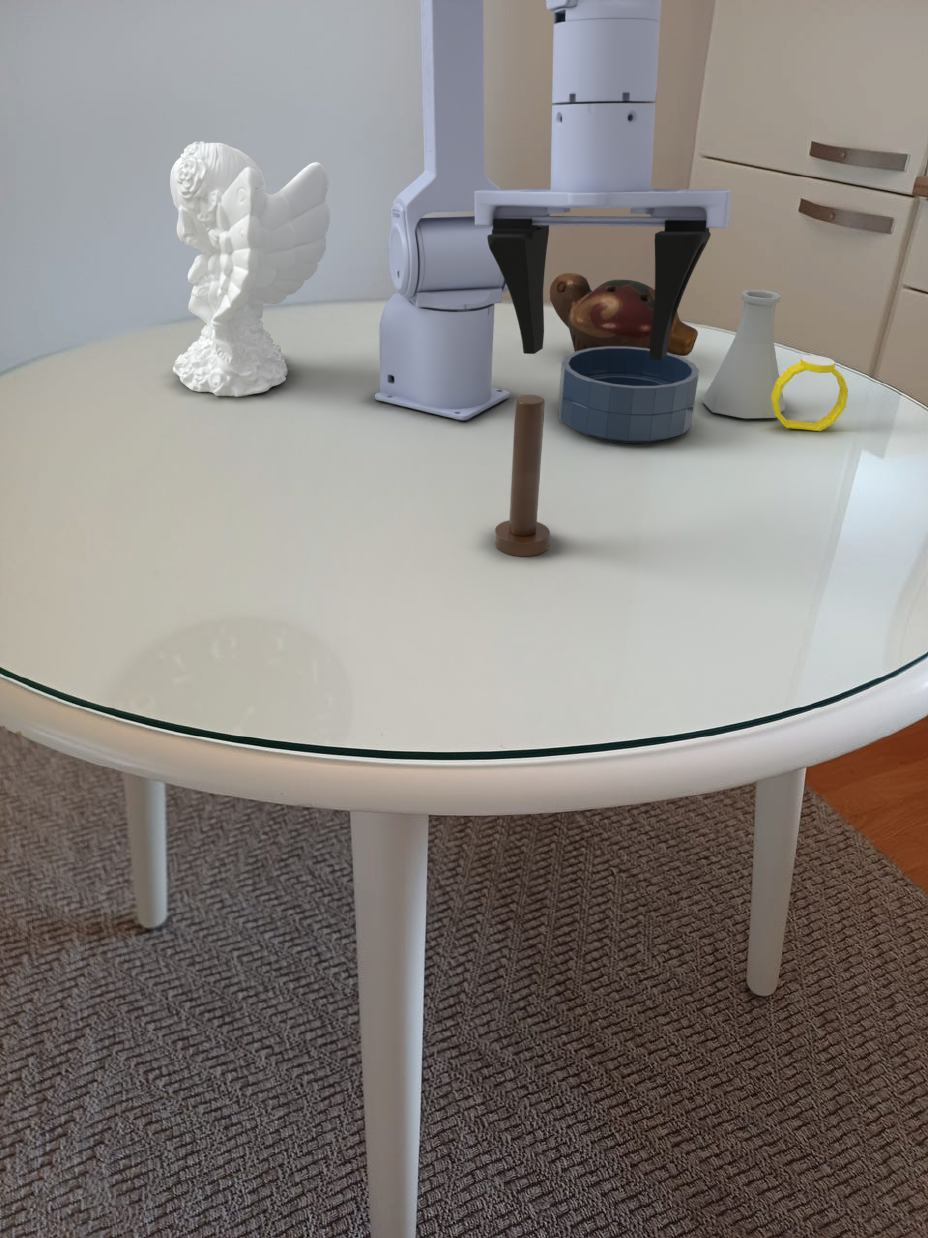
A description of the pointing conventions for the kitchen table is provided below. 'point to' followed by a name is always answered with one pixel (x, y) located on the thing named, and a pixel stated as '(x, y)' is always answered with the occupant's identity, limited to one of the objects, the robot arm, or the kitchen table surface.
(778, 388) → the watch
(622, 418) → the bowl
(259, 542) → the kitchen table surface
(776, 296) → the flask
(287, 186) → the cherub figurine
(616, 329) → the decorative turtle
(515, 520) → the brown wooden pestle
